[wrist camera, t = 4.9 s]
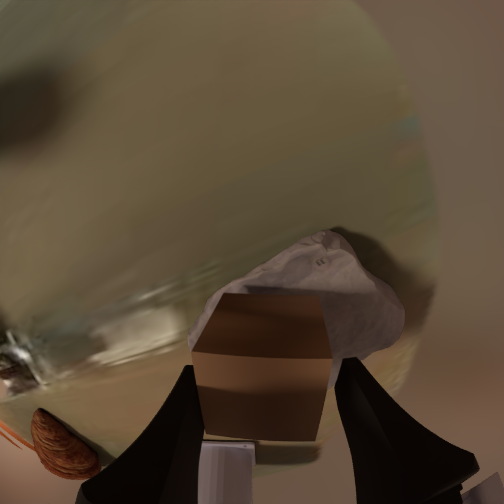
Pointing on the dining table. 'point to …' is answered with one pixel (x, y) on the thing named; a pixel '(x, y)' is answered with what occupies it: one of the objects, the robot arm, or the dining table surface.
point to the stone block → (326, 295)
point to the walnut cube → (263, 367)
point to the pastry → (62, 449)
